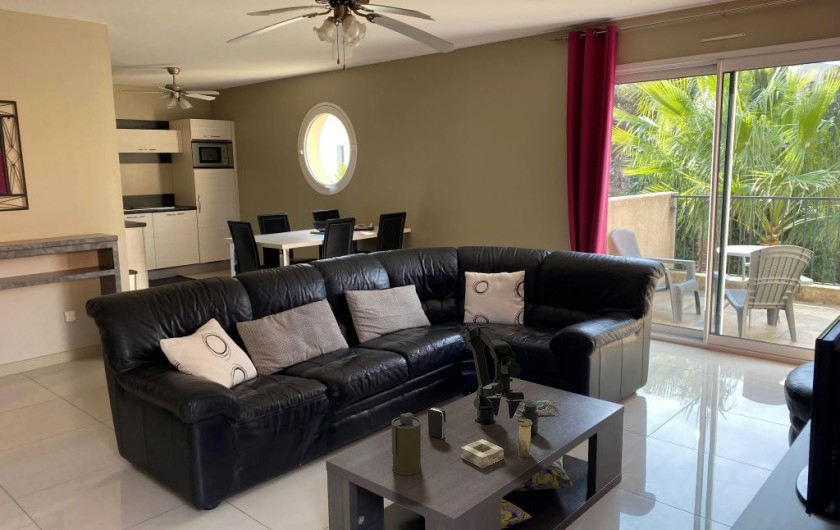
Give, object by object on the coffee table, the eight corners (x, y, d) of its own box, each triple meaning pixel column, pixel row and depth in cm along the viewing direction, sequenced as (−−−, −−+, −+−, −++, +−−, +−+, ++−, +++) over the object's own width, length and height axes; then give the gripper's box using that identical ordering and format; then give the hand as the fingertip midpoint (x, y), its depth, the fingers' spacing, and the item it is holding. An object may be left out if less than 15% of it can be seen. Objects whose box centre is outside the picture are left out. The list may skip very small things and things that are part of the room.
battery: (447, 436, 243) (447, 409, 242) (441, 440, 240) (441, 412, 239) (433, 432, 248) (433, 405, 246) (427, 435, 245) (427, 408, 243)
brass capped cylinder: (514, 455, 227) (515, 422, 225) (520, 450, 231) (521, 417, 229) (527, 459, 224) (528, 425, 222) (533, 453, 228) (534, 420, 226)
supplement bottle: (538, 437, 242) (538, 408, 240) (520, 436, 243) (521, 407, 242) (538, 430, 249) (539, 402, 247) (521, 429, 250) (521, 401, 248)
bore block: (460, 457, 226) (461, 447, 225) (482, 448, 233) (482, 438, 232) (482, 468, 217) (482, 457, 217) (503, 459, 224) (503, 448, 224)
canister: (409, 458, 225) (408, 406, 222) (427, 469, 217) (427, 415, 214) (385, 467, 218) (384, 414, 215) (403, 478, 210) (402, 423, 207)
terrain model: (514, 418, 262) (514, 411, 262) (507, 405, 277) (507, 398, 277) (561, 417, 263) (561, 410, 263) (552, 404, 278) (552, 397, 277)
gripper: (472, 375, 242) (472, 415, 240) (501, 378, 226) (502, 421, 224) (494, 374, 248) (494, 414, 246) (524, 377, 232) (525, 419, 230)
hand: (503, 417), depth 237 cm, fingers open, 9 cm apart
